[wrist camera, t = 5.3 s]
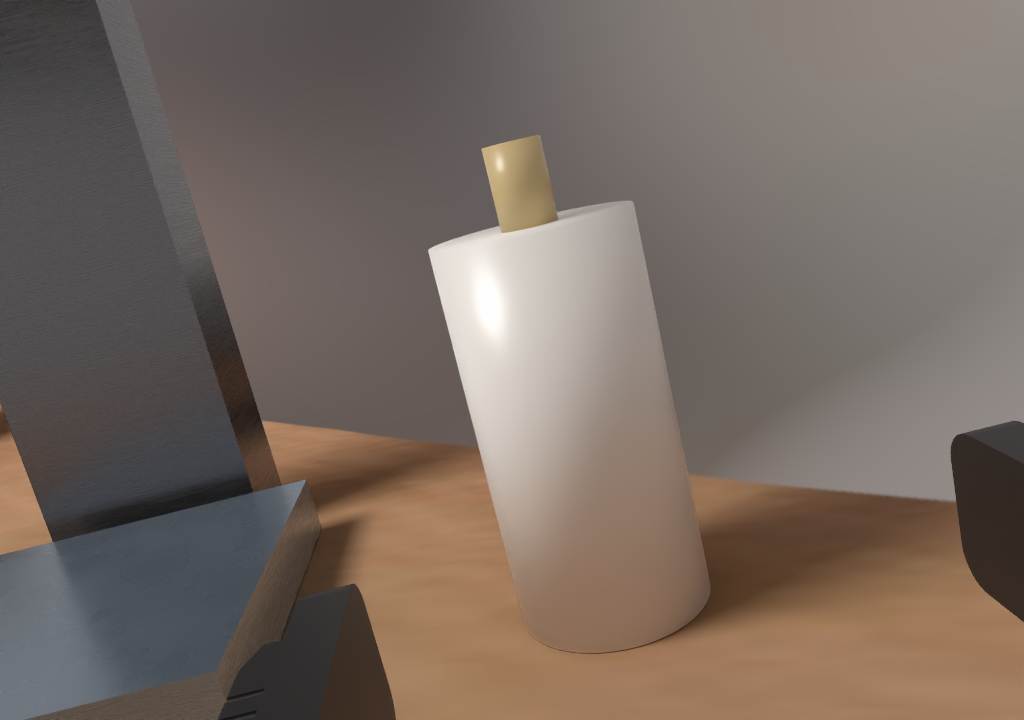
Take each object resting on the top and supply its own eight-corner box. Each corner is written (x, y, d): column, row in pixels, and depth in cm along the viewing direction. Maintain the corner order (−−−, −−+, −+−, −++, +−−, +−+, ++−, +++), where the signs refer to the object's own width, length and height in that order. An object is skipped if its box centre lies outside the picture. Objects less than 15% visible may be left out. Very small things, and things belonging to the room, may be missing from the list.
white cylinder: (670, 663, 20) (552, 128, 17) (487, 641, 23) (363, 177, 20) (735, 555, 24) (648, 108, 21) (574, 548, 27) (480, 151, 24)
